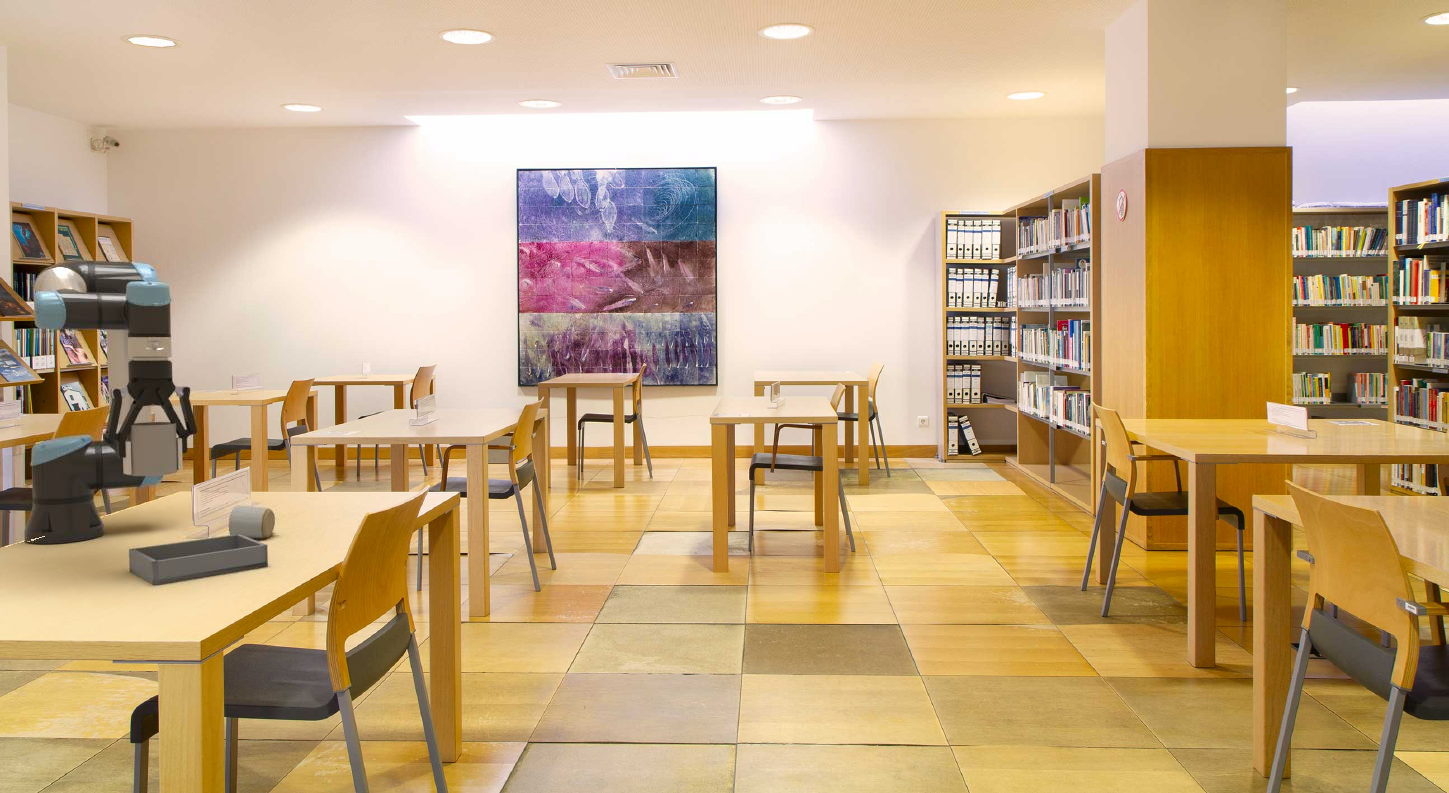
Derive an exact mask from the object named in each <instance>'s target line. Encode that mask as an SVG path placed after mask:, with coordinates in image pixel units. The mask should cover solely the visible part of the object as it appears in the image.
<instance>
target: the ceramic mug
mask: <svg viewBox="0 0 1449 793" xmlns="http://www.w3.org/2000/svg"><path fill="white" fill-rule="evenodd" d="M229 514H230V515H229V517H228V519H229V520H228V532H229V533H228V534H229V535H235V534H241V535H243V536H246V537H248V538H251V539H253V540H255V539H256V540H258V539H259V540H260V539H261V540H262V539H267V538H269V537H271V535H272V534H273V532H274V529H275V524H276V515H275V513H274V511H273V509H271V508H267V507H260V506H247V505H235V506H234V507H233V509H232V510H231V512H230V513H229Z"/></svg>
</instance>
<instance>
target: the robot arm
mask: <svg viewBox="0 0 1449 793" xmlns="http://www.w3.org/2000/svg"><path fill="white" fill-rule="evenodd" d="M157 274H158V273H157V272H156V269H155V268H154V267H153V266H152V265H150V264H148V263H141V262H133V261H107V260H105V261H104V260H87V259H85V260H83V259H78V260H77V259H76V260H67V261H64V262H59V263H56V264H53V265H51V266H48V267H46V268H44V269H43V270H41V271H40V273H38V275H37V276H36V278H35V282H34V291H35V293H34V294H33V311H34V314H33V315H34V324H35V327H37V328H38V329H43V330H44V329H45V330H53V331H59V330H99V331H100V330H101V331H102V330H104V331H106V350H107V351H106V354H107V355H106V356H107V357H106V358H107V379H108V380H107V382H108V383H107V384H108V404H109V405H108V406H109V408H108V409H109V410H108V411H109V412H108V413H109V415H108V418H107V419H108V421H107V425H106V428H105V430H104V431H103V432H102V440H94V438H93V436H92V435H89V434H82V435H81V434H79V435H69V436H63V437H56V438H51V439H47V440H43V441H40V442H37V443H36V444H34V446H33V447H31V461H30V467H31V476H32V477H31V479H32V480H31V482H32V484H31V485H32V487H31V488H32V509H31V512H30V514H29V518H28V520H27V522H26V525H25V527H24V528H25V529H24V534H23V536H24V542H26V541H30V542H29V544H38V545H41V544H45V545H47V544H49V545H51V544H52V545H53V544H65V543H75V542H81V541H86V540H87V541H88V540H91V539H95V538H98V537H101V536H103V535H104V534H105V531H104V530H105V529H104V526H105V525H104V523H103V520H102V518H101V516H100V514H99V510H98V509H97V506H96V504H95V498H94V496H95V495H94V494H95V493H94V491H101V490H116V489H129V488H130V489H131V488H138V489H139V488H140V489H141V488H142V487H150V486H157V485H159V484H160V483H161V481H163V479H164V476H165V475H157V476H131V475H130V474H132V469H131V442H130V441H128V435H129V432H130V430H131V428H132V425H133V424H134V423H145V422H153V420H152V419H153V418H152V413H153V412H152V406H157V407H158V406H159V407H161V409H163V410H162V411H163V412H164V413H165V415H166V417H167V419H168V422H171V424H174V423H176V436H178V437H176V443H177V471H183V470H184V468H183V464H184V463H183V454H187V452H188V437H190V436H192V435H195V434H197V432H198V429H197V425H196V420H195V415H194V412H193V407H192V404H191V400H190V396H191V387H189V386H176V385H175V383H174V381H173V362H172V360H169V359H170V358H171V357H172V356H173V355H172V354H173V352H172V351H173V350H172V334H171V332H172V330H171V328H172V327H171V319H172V318H171V316H172V315H171V302H172V297H171V292H170V291H171V289H170V286H169V285H168V284H167V283H166V282H160V280H159V277H158V275H157ZM174 392H175V394H176V396H177V397H178V398H179V404H180V408H181V412H182V416H183V419H184V423H185V427H184V424H183V423H182V421H181V420H180V418H179V416H178V414H177V412H176V410H175V408H174V407H173V403H172V402H171V400H170V397H171V396H172V395H173V394H174ZM42 536H45V537H42ZM39 537H42V538H39ZM35 538H39V539H36V540H34V541H31V539H35ZM32 542H33V543H32ZM26 543H27V542H26Z"/></svg>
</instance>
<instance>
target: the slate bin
mask: <svg viewBox="0 0 1449 793" xmlns="http://www.w3.org/2000/svg"><path fill="white" fill-rule="evenodd" d="M268 551H269V550H268V544H266V543H264V542H261V541H258V540H257V539H256V540H255V539H251V538H248V537H246V536H243V535H241V534H235V535H230V534H229V535H222V536H215V537H214V536H213V537H209V538H207V537H206V538H202V539H201V538H200V539H193V540H186V541H179V542H172V543H165V544H164V543H163V544H157V545H156V544H155V545H151V546H143V547H136V548H135V547H134V548H129V549H128V557H129V559H128V560H129V561H128V562H129V563H128V564H129V572H130V573H132V574H133V575H135V576H138V577H139V578H141V579H142V580H144V581H145V582H147V583H149V584H151V585H153V586H160V585H165V584H171V583H178V582H183V581H189V580H194V579H200V578H201V579H202V578H206V577H214V576H218V575H224V574H230V573H237V572H244V571H249V570H256V569H259V568H260V569H261V568H266V567H268V565H269V563H268V562H269V559H268V558H269V555H268Z"/></svg>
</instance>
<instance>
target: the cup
mask: <svg viewBox="0 0 1449 793" xmlns="http://www.w3.org/2000/svg"><path fill="white" fill-rule="evenodd" d="M176 438H177V433H176V423H174V424H171V422H170V421H152V422H145V423H134V424H133V425H132V428H131V430H130V432H129V435H128V441H130V442H131V469H132V474H130V475H131V476H157V475H164V476H165V475H166V476H167V475H172V474H176V473H178V470H177V443H176Z"/></svg>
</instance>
